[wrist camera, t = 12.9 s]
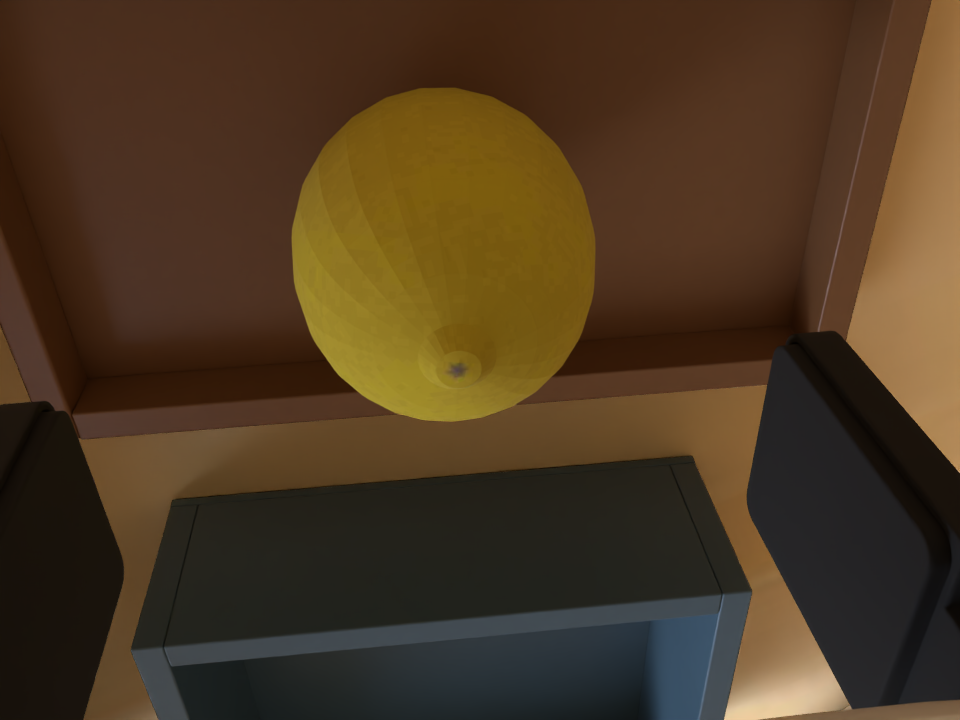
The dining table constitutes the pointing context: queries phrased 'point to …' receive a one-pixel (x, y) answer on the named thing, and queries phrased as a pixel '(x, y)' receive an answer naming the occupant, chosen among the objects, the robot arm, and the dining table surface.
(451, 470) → the dining table surface
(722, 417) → the dining table surface
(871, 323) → the dining table surface
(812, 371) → the robot arm
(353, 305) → the lemon
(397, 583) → the blue open storage box
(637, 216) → the tray
